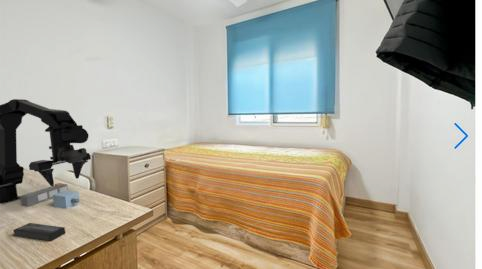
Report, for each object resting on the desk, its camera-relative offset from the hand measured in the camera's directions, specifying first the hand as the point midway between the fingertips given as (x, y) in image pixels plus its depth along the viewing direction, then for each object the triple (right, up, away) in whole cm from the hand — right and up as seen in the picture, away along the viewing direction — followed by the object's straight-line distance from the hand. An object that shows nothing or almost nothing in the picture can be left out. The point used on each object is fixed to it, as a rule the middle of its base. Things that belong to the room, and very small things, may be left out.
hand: (65, 182), depth 84 cm
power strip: (-15, -9, +8) cm, 19 cm away
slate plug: (0, -10, +1) cm, 10 cm away
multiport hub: (+8, -12, -19) cm, 24 cm away
